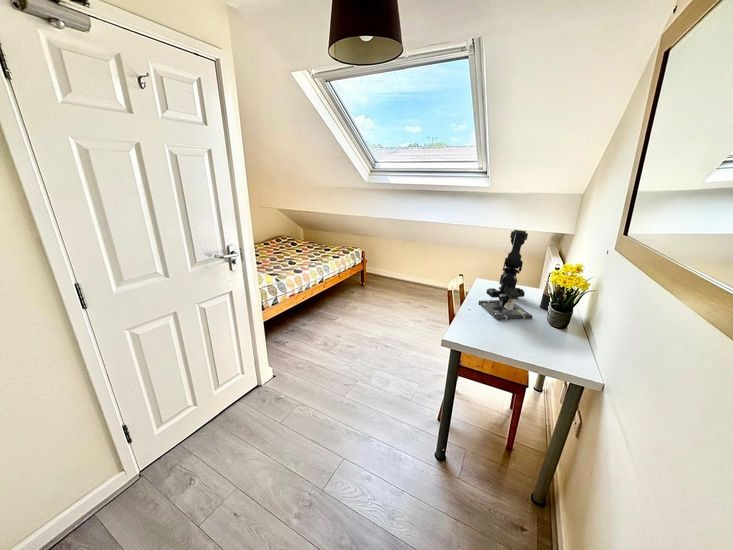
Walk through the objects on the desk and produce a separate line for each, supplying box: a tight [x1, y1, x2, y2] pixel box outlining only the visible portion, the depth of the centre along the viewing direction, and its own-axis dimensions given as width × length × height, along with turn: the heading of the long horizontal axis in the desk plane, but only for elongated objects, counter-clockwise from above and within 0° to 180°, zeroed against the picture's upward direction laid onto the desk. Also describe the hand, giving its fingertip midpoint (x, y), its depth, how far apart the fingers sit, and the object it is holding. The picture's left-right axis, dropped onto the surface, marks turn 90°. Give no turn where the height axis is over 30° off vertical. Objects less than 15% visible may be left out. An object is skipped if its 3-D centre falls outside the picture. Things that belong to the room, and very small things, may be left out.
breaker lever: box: [504, 299, 515, 310], centre depth 158 cm, size 5×2×5 cm, turn 10°
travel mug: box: [539, 272, 552, 312], centre depth 162 cm, size 8×8×20 cm
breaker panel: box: [479, 302, 531, 319], centre depth 159 cm, size 14×20×2 cm
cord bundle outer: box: [494, 313, 534, 321], centre depth 152 cm, size 2×20×2 cm, turn 100°
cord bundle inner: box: [477, 299, 500, 306], centre depth 167 cm, size 2×20×2 cm, turn 99°
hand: (501, 306), depth 159 cm, fingers closed
